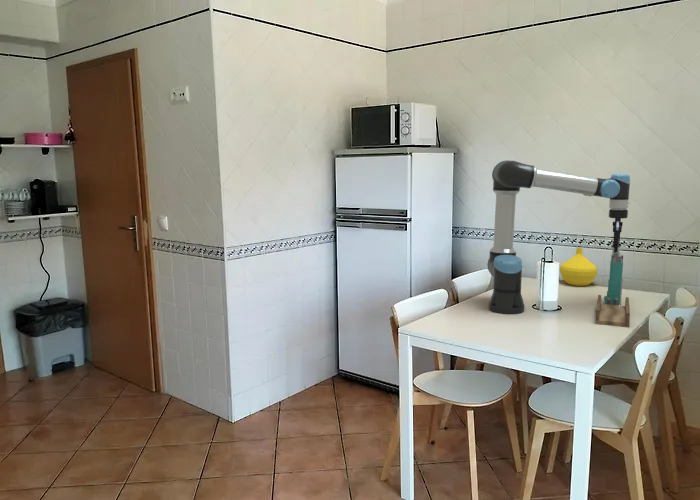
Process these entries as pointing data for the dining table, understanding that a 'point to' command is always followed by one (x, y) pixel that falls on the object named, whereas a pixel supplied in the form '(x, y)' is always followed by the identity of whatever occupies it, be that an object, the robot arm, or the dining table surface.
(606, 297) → the building
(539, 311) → the dining table surface
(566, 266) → the vase
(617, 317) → the tray
